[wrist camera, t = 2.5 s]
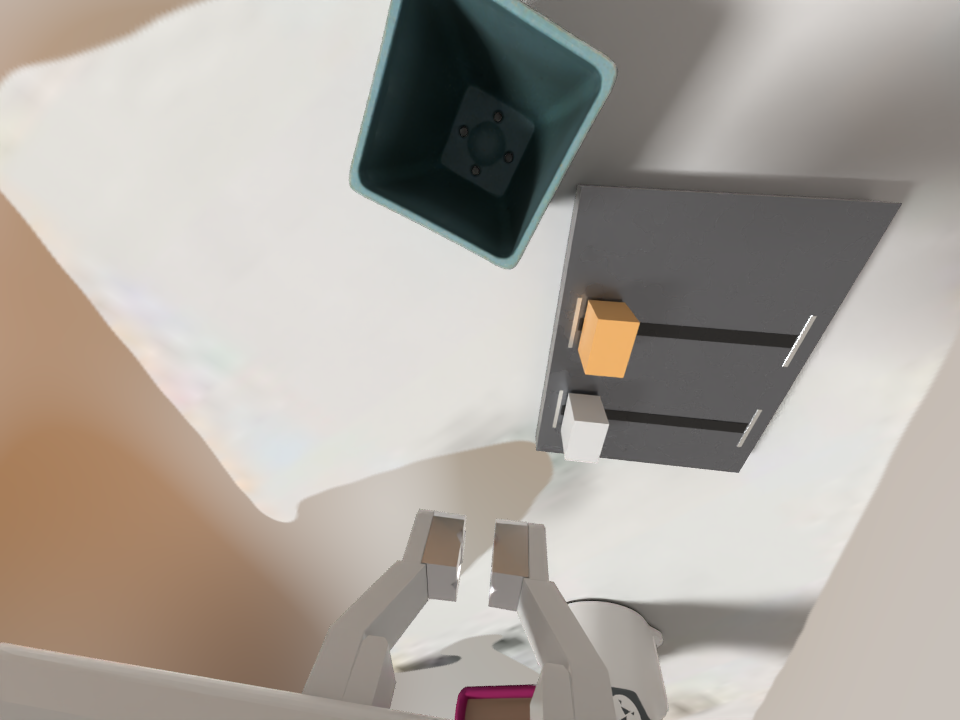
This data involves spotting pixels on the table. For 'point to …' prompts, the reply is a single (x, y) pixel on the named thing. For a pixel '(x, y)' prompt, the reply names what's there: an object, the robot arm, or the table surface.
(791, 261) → the console
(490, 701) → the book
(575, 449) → the block
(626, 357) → the fader
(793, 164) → the table surface
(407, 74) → the flower pot
